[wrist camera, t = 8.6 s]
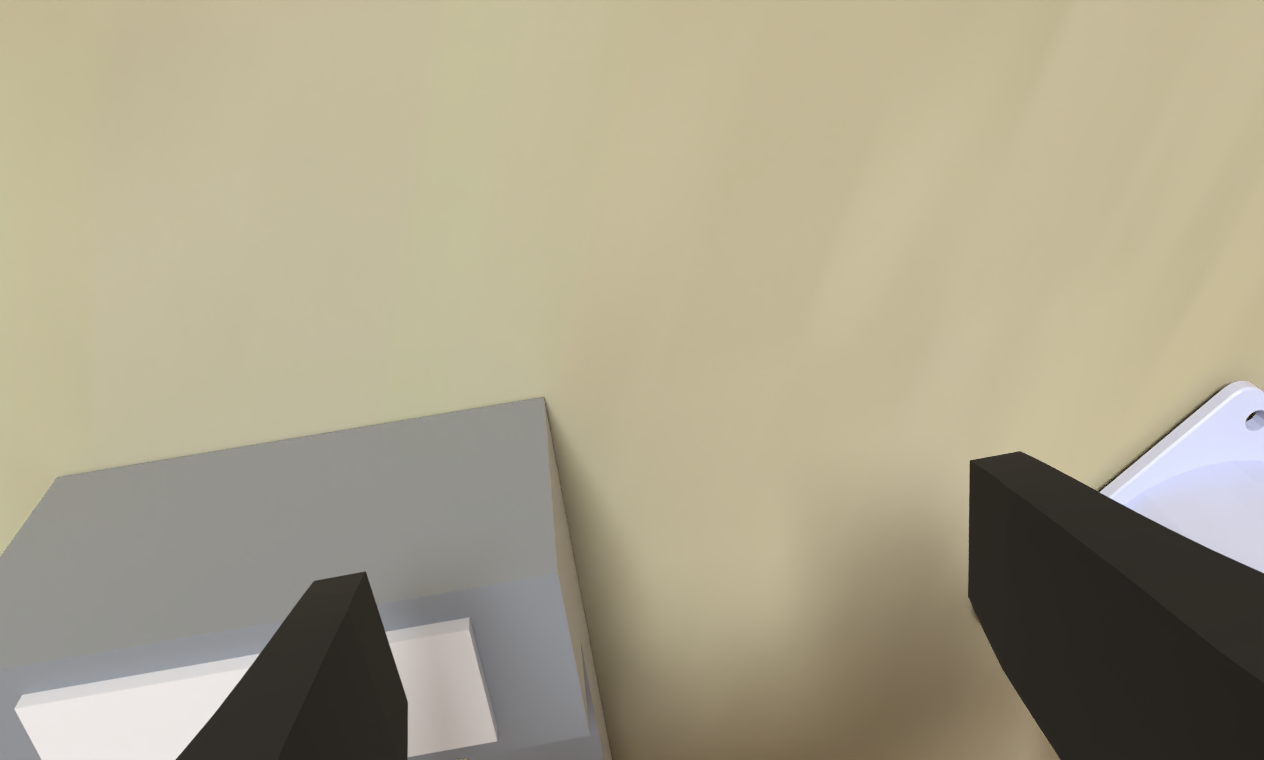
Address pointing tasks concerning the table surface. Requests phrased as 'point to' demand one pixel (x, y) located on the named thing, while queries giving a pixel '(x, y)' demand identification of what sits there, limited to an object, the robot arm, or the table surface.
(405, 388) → the table surface
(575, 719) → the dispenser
